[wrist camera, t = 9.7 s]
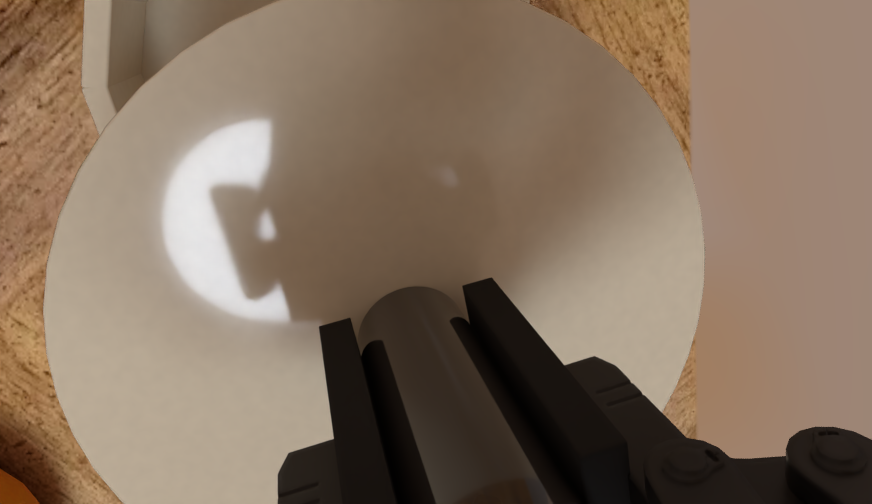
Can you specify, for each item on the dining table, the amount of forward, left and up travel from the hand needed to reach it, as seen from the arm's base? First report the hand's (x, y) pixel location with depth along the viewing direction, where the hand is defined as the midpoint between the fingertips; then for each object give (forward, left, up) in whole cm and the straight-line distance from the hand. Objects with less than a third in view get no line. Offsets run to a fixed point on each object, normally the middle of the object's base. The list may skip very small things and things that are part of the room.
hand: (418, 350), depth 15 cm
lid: (0, 0, -1) cm, 1 cm away
